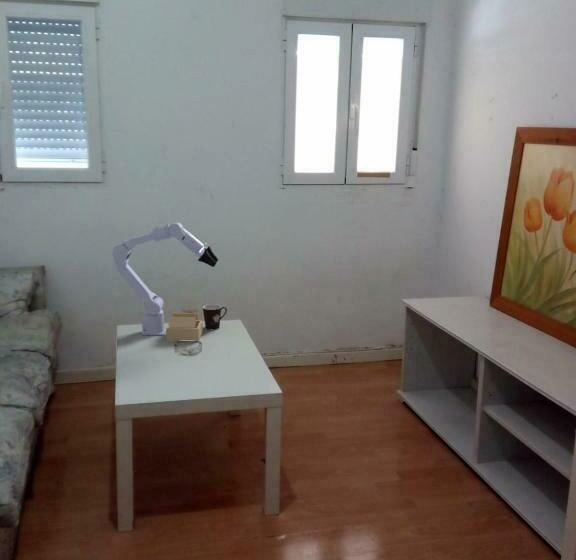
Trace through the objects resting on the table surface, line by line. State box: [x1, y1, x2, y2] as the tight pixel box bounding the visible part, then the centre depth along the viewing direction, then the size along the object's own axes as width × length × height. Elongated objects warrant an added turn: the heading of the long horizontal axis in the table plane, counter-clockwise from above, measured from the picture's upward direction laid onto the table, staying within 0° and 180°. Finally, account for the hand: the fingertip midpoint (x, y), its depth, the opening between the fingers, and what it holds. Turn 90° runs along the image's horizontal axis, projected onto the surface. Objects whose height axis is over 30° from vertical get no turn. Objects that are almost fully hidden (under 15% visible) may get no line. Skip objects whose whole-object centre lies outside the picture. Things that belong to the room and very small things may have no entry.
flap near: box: [169, 316, 196, 328], centre depth 276 cm, size 5×11×1 cm
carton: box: [165, 319, 204, 343], centre depth 281 cm, size 14×12×6 cm
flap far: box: [172, 312, 200, 320], centre depth 284 cm, size 5×11×1 cm
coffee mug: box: [202, 303, 228, 331], centre depth 294 cm, size 12×9×10 cm
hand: (216, 263), depth 279 cm, fingers open, 7 cm apart
